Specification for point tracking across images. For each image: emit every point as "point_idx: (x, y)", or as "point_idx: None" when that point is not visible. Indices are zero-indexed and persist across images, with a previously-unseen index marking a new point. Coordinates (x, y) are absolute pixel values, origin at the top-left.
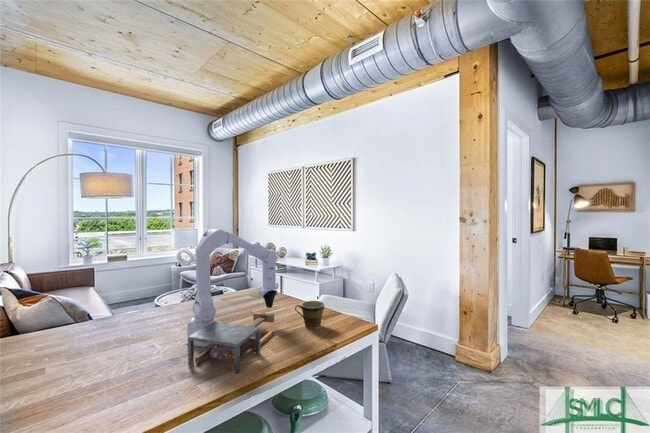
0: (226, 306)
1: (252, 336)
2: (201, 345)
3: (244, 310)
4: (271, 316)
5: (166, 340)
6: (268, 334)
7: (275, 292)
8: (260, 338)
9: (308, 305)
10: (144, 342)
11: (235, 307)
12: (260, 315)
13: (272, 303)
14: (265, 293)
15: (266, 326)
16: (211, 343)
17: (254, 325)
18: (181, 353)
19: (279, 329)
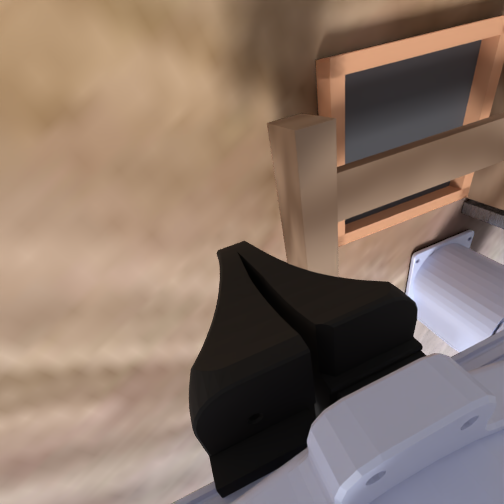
0: (162, 483)
1: (378, 152)
2: (470, 245)
3: (141, 429)
4: (332, 125)
5: (434, 339)
6: (384, 49)
7: (283, 342)
8: (391, 90)
9: None
10: (446, 355)
11: (144, 467)
12: (332, 225)
13: (234, 261)
14: (473, 348)
15: (235, 196)
16: (451, 237)
17: (453, 139)
18: (497, 248)
19: (228, 77)
